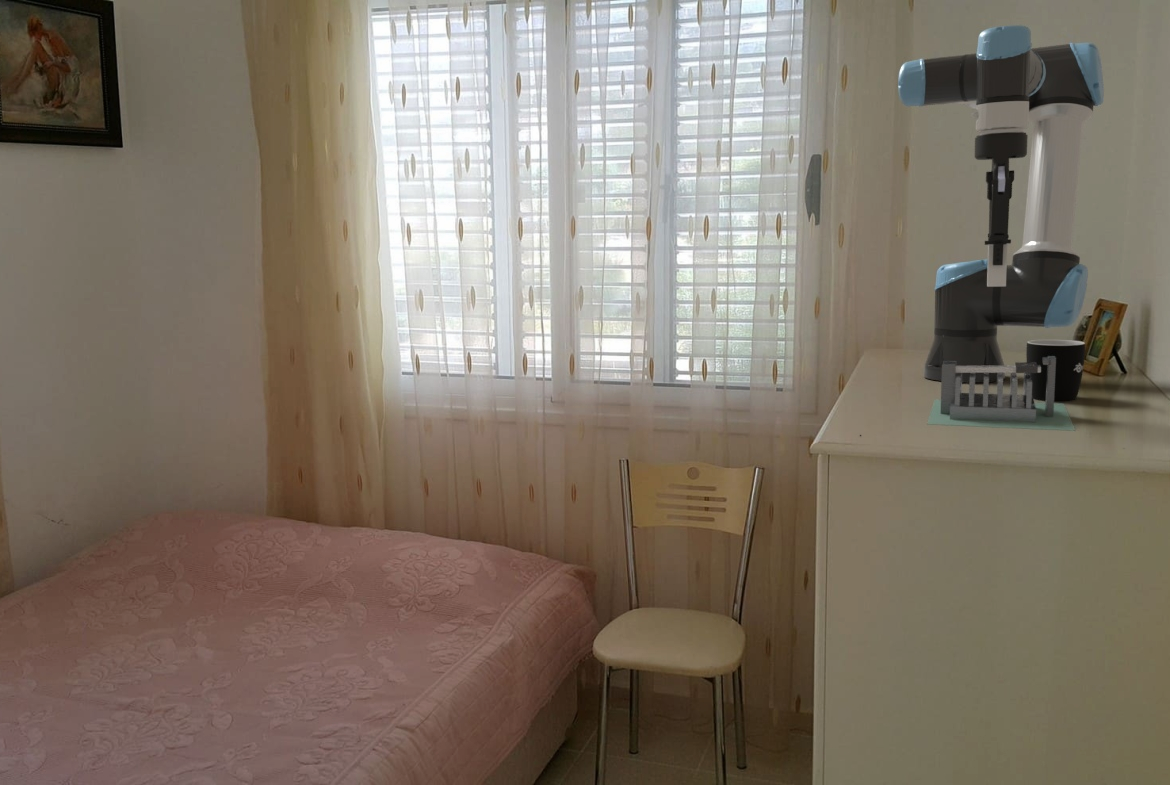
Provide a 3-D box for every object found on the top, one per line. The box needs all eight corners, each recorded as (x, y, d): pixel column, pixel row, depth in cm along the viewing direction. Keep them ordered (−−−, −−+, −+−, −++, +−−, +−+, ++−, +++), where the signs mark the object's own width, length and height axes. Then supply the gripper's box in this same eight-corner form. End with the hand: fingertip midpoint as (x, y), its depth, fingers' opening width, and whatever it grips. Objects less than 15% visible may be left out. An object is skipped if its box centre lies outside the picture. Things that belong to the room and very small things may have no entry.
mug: (1079, 407, 166) (1082, 345, 164) (1020, 404, 170) (1022, 344, 169) (1087, 397, 176) (1090, 338, 174) (1031, 393, 180) (1034, 337, 179)
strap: (945, 370, 163) (945, 362, 163) (1039, 370, 158) (1039, 362, 158) (944, 374, 158) (944, 366, 158) (1041, 374, 153) (1041, 366, 153)
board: (934, 402, 174) (934, 399, 173) (1063, 407, 166) (1063, 403, 166) (926, 428, 151) (927, 424, 151) (1075, 434, 144) (1075, 430, 144)
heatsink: (942, 404, 168) (944, 350, 167) (1050, 408, 162) (1052, 352, 161) (939, 418, 155) (940, 360, 154) (1055, 423, 150) (1058, 362, 148)
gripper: (974, 136, 163) (970, 283, 168) (976, 131, 151) (971, 290, 156) (1024, 133, 161) (1019, 282, 165) (1031, 128, 149) (1025, 289, 153)
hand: (996, 285), depth 160 cm, fingers closed
